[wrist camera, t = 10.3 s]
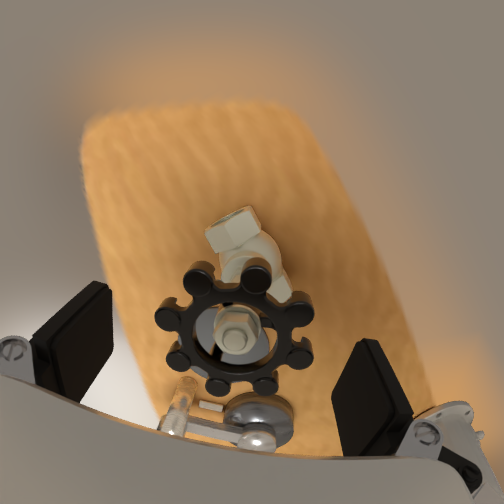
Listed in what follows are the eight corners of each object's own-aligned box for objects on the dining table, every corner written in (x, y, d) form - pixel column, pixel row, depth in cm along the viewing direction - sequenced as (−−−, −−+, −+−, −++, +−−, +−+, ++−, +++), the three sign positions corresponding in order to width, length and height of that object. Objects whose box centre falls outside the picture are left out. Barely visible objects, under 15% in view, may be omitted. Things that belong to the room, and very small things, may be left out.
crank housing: (301, 397, 27) (306, 452, 20) (282, 437, 29) (282, 487, 22) (180, 373, 27) (159, 425, 20) (176, 416, 29) (160, 464, 22)
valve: (271, 191, 21) (273, 229, 10) (310, 269, 23) (342, 369, 11) (193, 232, 23) (123, 303, 11) (234, 303, 24) (207, 414, 13)
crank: (280, 426, 25) (281, 476, 19) (270, 446, 26) (268, 493, 20) (155, 397, 25) (135, 443, 19) (154, 419, 26) (136, 463, 20)
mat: (279, 318, 24) (279, 321, 24) (257, 387, 27) (257, 390, 26) (183, 297, 24) (182, 299, 24) (175, 368, 27) (174, 371, 26)
